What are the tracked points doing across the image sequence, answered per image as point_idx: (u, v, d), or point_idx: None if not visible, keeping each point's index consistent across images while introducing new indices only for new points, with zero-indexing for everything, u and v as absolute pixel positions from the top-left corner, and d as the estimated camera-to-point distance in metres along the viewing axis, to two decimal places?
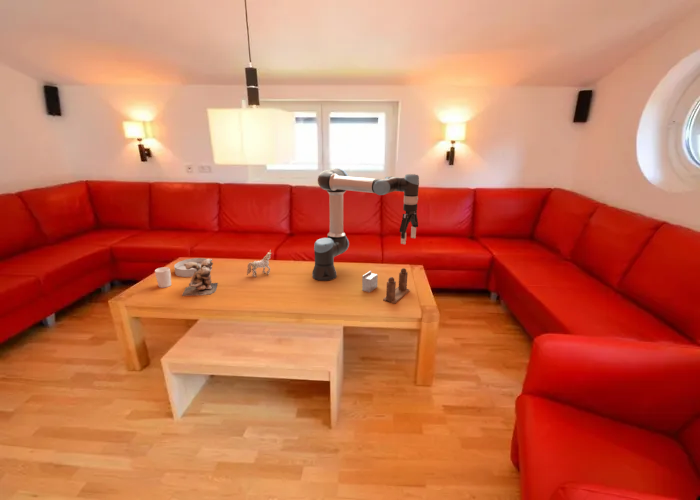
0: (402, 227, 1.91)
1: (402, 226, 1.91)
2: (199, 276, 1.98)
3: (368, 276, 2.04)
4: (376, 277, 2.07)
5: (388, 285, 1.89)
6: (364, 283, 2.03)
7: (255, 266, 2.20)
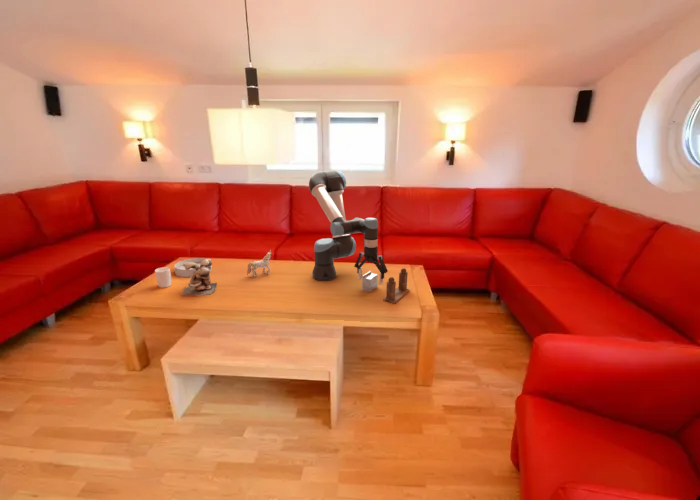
0: None
1: None
2: (198, 276, 1.98)
3: (368, 276, 2.04)
4: (376, 277, 2.07)
5: (388, 285, 1.89)
6: (364, 283, 2.03)
7: (255, 266, 2.20)
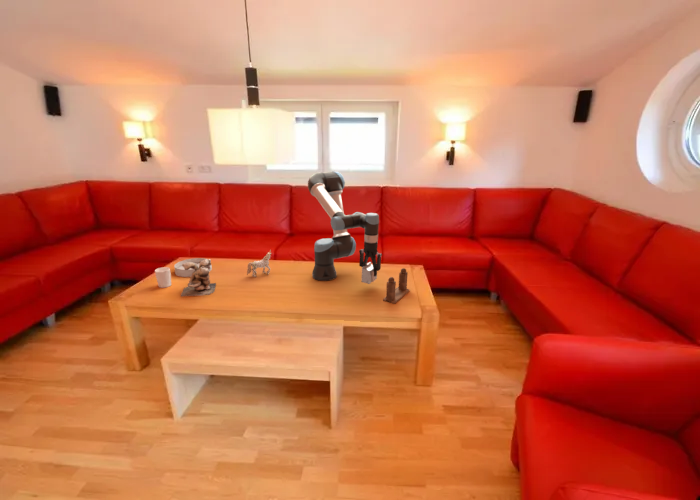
0: None
1: None
2: (198, 276, 1.98)
3: (368, 267, 2.03)
4: None
5: (388, 285, 1.89)
6: (363, 274, 2.02)
7: (255, 266, 2.20)
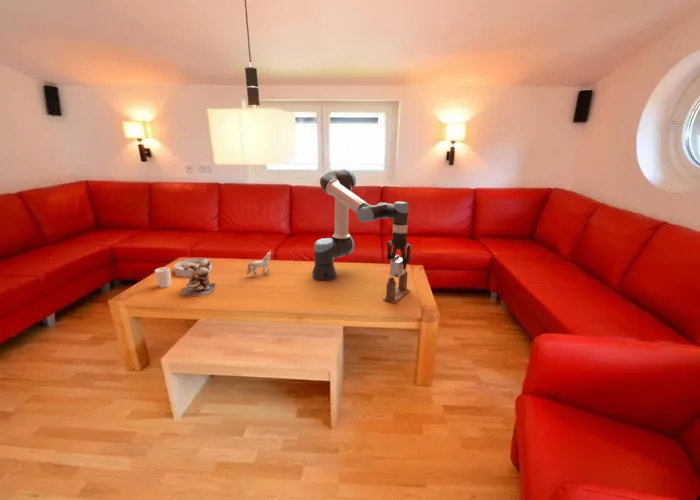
0: None
1: None
2: (197, 276, 1.98)
3: (396, 260, 1.91)
4: None
5: (388, 285, 1.89)
6: (392, 267, 1.90)
7: (255, 266, 2.20)
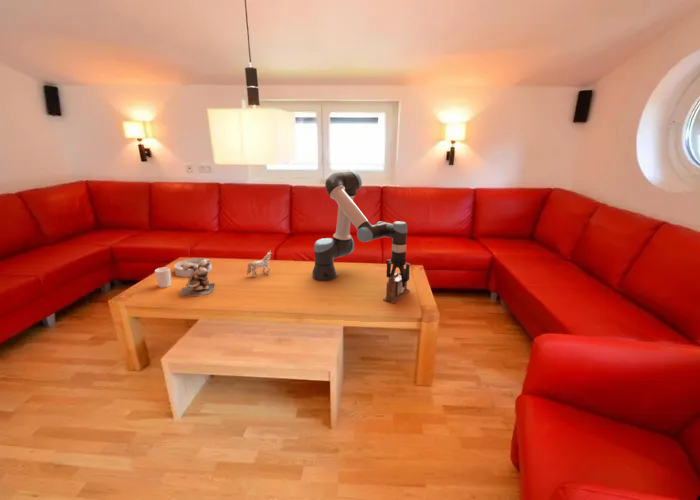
0: None
1: None
2: (196, 277, 1.98)
3: (395, 278, 1.95)
4: None
5: (388, 285, 1.89)
6: None
7: (255, 266, 2.20)
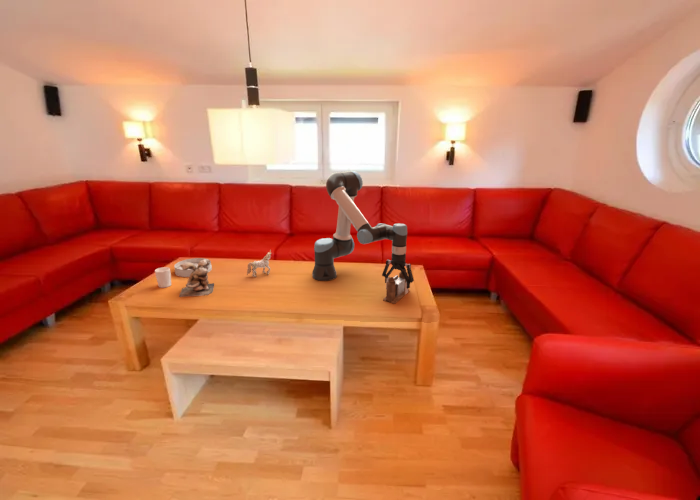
0: None
1: None
2: (196, 277, 1.97)
3: (395, 281, 1.95)
4: (403, 282, 1.98)
5: (388, 285, 1.89)
6: None
7: (255, 266, 2.20)
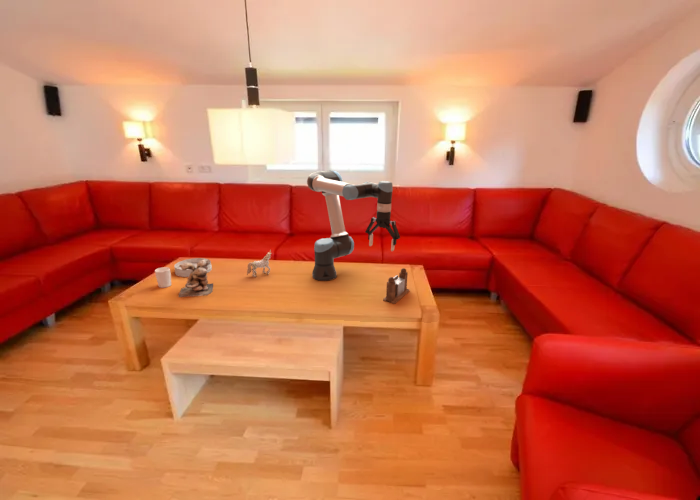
0: None
1: None
2: (195, 277, 1.97)
3: (395, 281, 1.95)
4: (403, 282, 1.98)
5: (388, 285, 1.89)
6: None
7: (255, 266, 2.20)
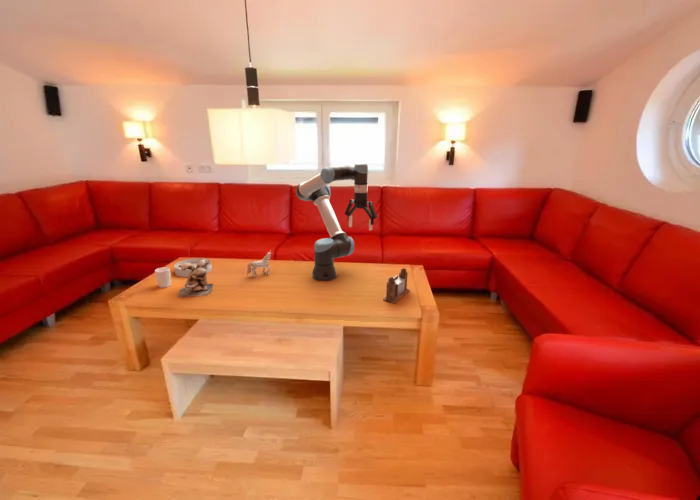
0: None
1: None
2: (195, 277, 1.97)
3: (395, 281, 1.95)
4: (403, 282, 1.98)
5: (388, 285, 1.89)
6: None
7: (255, 266, 2.20)
